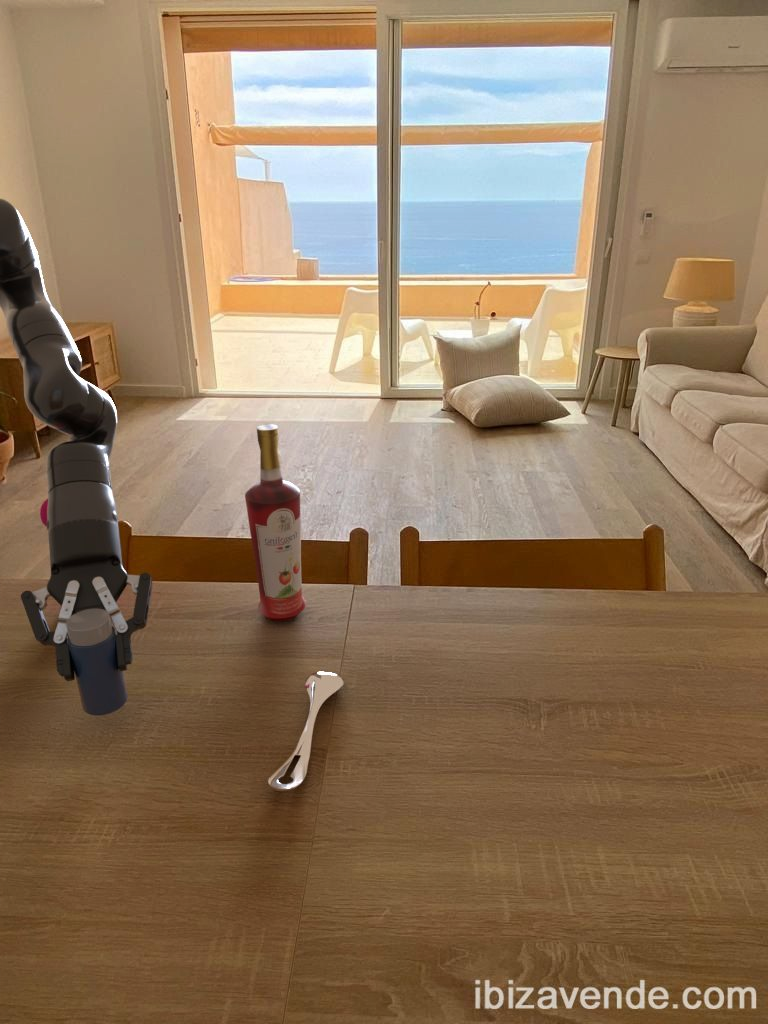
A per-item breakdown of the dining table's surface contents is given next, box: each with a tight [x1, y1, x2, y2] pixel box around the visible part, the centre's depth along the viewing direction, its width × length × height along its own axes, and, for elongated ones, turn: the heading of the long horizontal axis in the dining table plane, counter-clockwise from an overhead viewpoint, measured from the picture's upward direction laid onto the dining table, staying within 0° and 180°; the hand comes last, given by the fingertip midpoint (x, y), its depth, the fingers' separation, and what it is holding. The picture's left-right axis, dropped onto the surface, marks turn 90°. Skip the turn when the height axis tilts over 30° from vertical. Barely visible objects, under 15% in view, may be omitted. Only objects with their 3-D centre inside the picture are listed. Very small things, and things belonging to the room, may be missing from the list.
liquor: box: [244, 423, 307, 623], centre depth 95 cm, size 7×7×28 cm
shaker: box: [66, 608, 129, 717], centre depth 76 cm, size 5×5×11 cm
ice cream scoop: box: [267, 670, 346, 792], centre depth 77 cm, size 20×4×5 cm
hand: (96, 673), depth 75 cm, fingers closed on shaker, 5 cm apart
